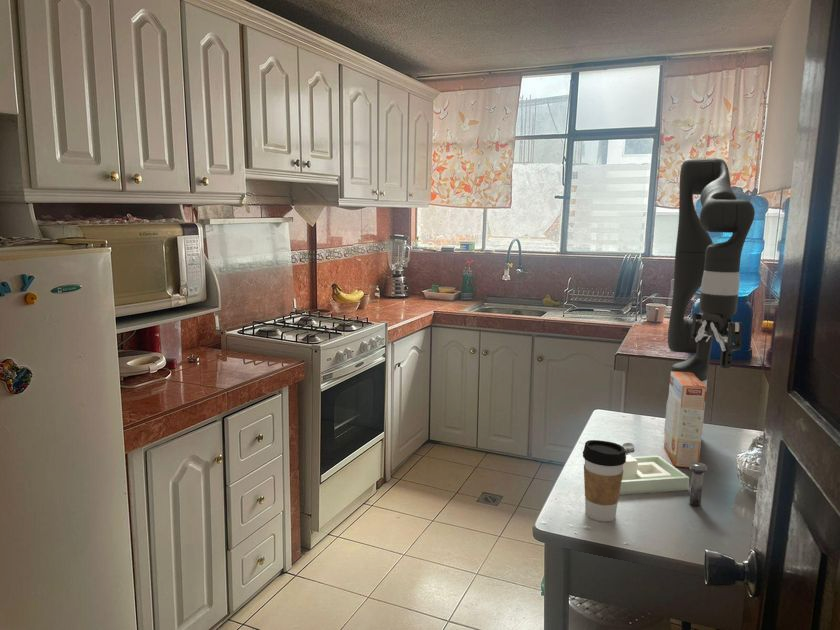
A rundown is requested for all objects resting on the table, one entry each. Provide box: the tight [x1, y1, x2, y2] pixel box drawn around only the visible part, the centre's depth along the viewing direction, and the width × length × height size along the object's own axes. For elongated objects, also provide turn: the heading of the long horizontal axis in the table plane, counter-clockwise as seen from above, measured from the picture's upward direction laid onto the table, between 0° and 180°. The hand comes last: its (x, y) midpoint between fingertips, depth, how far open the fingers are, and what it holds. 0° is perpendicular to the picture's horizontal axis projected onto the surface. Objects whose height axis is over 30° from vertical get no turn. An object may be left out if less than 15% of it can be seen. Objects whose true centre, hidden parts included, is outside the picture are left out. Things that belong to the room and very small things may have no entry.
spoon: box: [621, 442, 635, 452], centre depth 157 cm, size 3×12×2 cm, turn 144°
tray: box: [619, 455, 690, 496], centre depth 142 cm, size 13×18×3 cm
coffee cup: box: [582, 439, 627, 523], centre depth 124 cm, size 8×8×15 cm
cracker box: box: [663, 371, 708, 469], centre depth 154 cm, size 14×6×21 cm, turn 168°
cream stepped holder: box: [622, 454, 672, 480], centre depth 141 cm, size 12×8×5 cm, turn 100°
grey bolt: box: [688, 461, 708, 508], centre depth 130 cm, size 3×3×9 cm
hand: (712, 362), depth 138 cm, fingers open, 8 cm apart
